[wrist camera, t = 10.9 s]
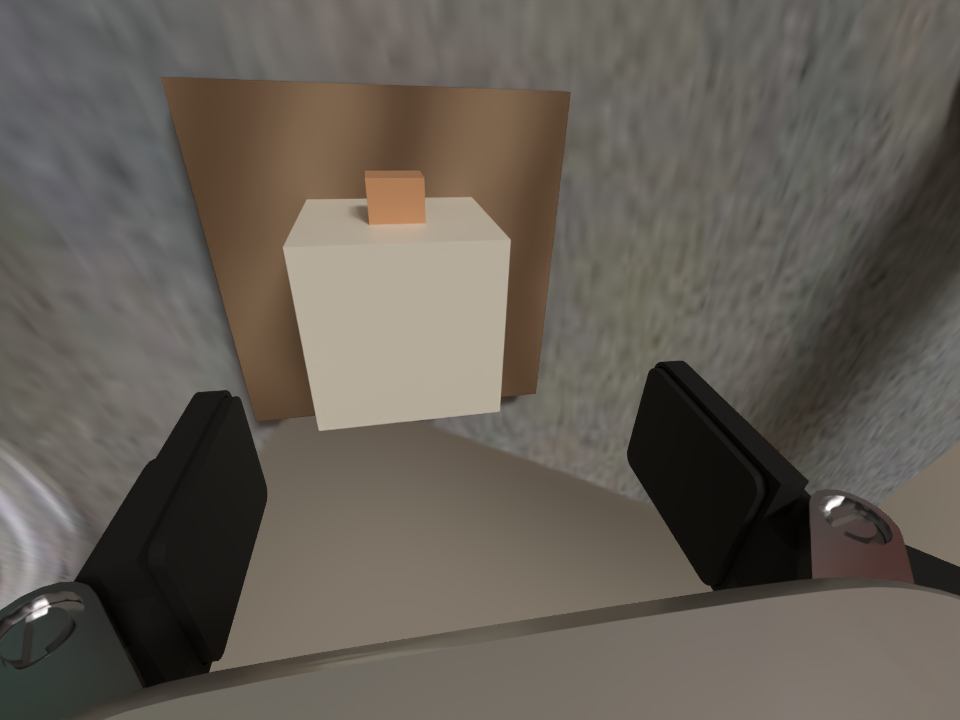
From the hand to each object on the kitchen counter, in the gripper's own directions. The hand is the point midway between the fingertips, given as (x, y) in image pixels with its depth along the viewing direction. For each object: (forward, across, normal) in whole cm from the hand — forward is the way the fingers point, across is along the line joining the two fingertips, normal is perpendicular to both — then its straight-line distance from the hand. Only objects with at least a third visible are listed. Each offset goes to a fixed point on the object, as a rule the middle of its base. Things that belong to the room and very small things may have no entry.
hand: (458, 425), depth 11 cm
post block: (+12, +1, 0) cm, 12 cm away
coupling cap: (+11, +1, 0) cm, 11 cm away
